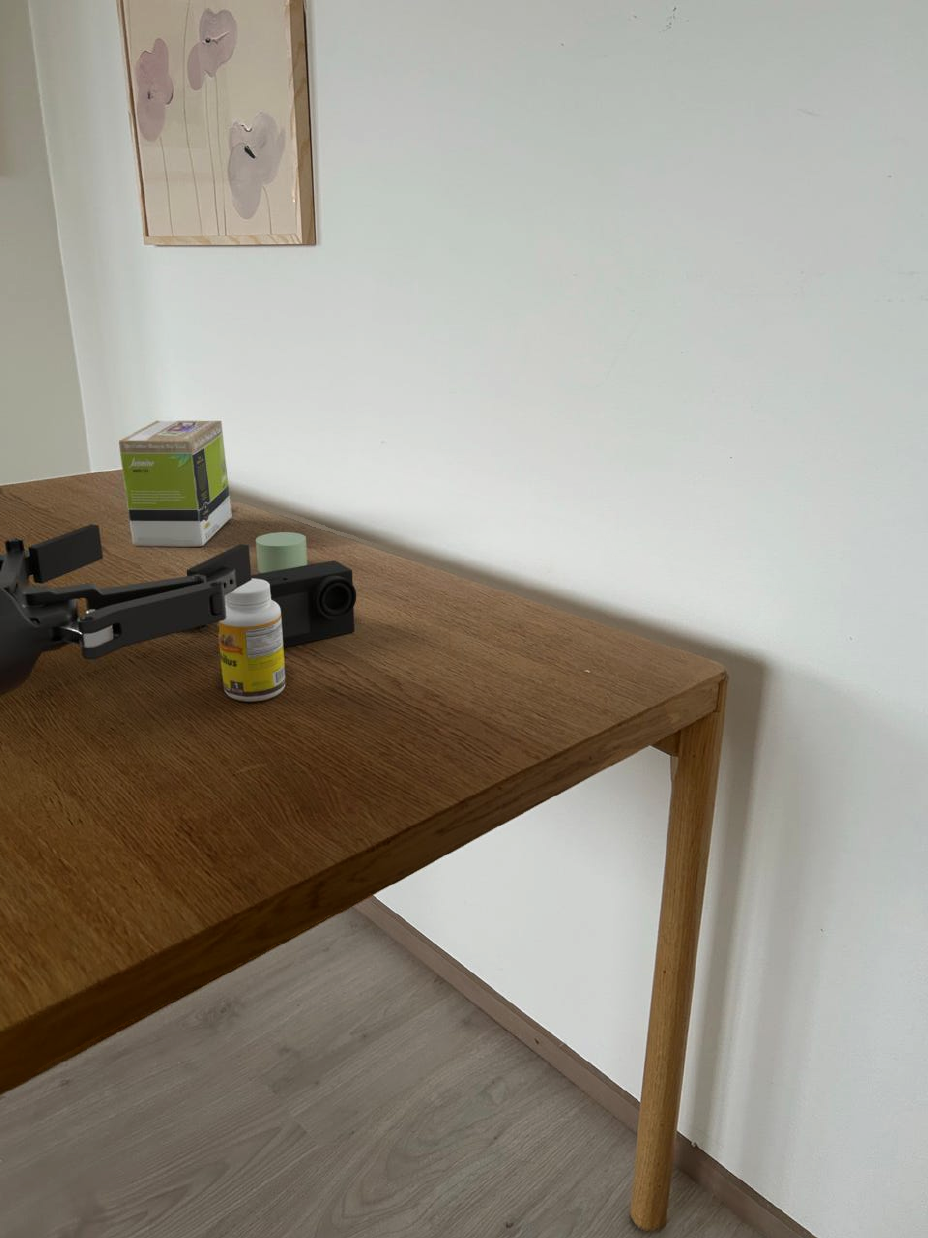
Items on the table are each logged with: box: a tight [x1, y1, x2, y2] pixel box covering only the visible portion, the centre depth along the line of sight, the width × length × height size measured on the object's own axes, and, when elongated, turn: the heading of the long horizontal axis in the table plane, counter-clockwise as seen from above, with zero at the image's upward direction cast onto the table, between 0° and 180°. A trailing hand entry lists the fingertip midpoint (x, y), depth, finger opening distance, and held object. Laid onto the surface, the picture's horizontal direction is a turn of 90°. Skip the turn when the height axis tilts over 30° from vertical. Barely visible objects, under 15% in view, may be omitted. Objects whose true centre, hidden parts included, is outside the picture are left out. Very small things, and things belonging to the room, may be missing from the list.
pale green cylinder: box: [255, 531, 309, 573], centre depth 116 cm, size 6×6×5 cm
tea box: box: [118, 420, 233, 548], centre depth 133 cm, size 15×10×15 cm
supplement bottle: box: [216, 579, 286, 703], centre depth 85 cm, size 6×6×10 cm
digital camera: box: [251, 559, 357, 649], centre depth 98 cm, size 10×5×7 cm, turn 124°
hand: (169, 551), depth 73 cm, fingers open, 13 cm apart
